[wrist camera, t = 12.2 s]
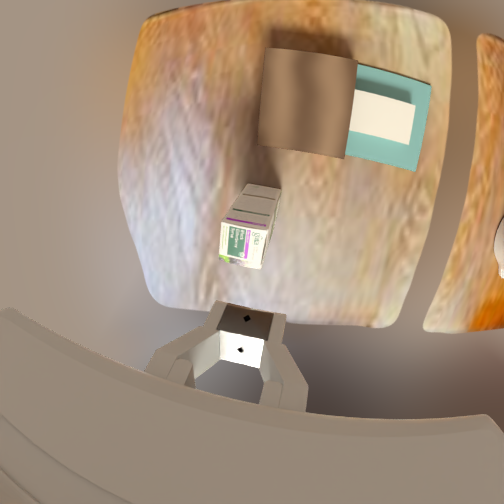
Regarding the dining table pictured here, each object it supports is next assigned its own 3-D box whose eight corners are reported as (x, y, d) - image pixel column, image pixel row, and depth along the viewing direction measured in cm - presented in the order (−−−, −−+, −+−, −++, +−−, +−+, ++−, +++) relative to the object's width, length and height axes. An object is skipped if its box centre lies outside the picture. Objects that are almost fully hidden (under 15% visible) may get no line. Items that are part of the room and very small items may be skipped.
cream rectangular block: (411, 104, 32) (415, 105, 30) (404, 142, 35) (408, 145, 34) (352, 89, 33) (354, 89, 32) (347, 128, 36) (348, 130, 35)
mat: (430, 86, 30) (431, 86, 29) (414, 171, 37) (415, 171, 37) (354, 63, 31) (354, 63, 31) (341, 153, 39) (341, 153, 39)
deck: (354, 63, 31) (358, 60, 28) (341, 153, 39) (344, 159, 36) (270, 51, 33) (265, 47, 30) (262, 140, 41) (256, 145, 37)
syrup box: (246, 182, 45) (217, 220, 33) (283, 188, 44) (268, 230, 32) (243, 214, 48) (215, 260, 36) (277, 221, 47) (261, 271, 35)
